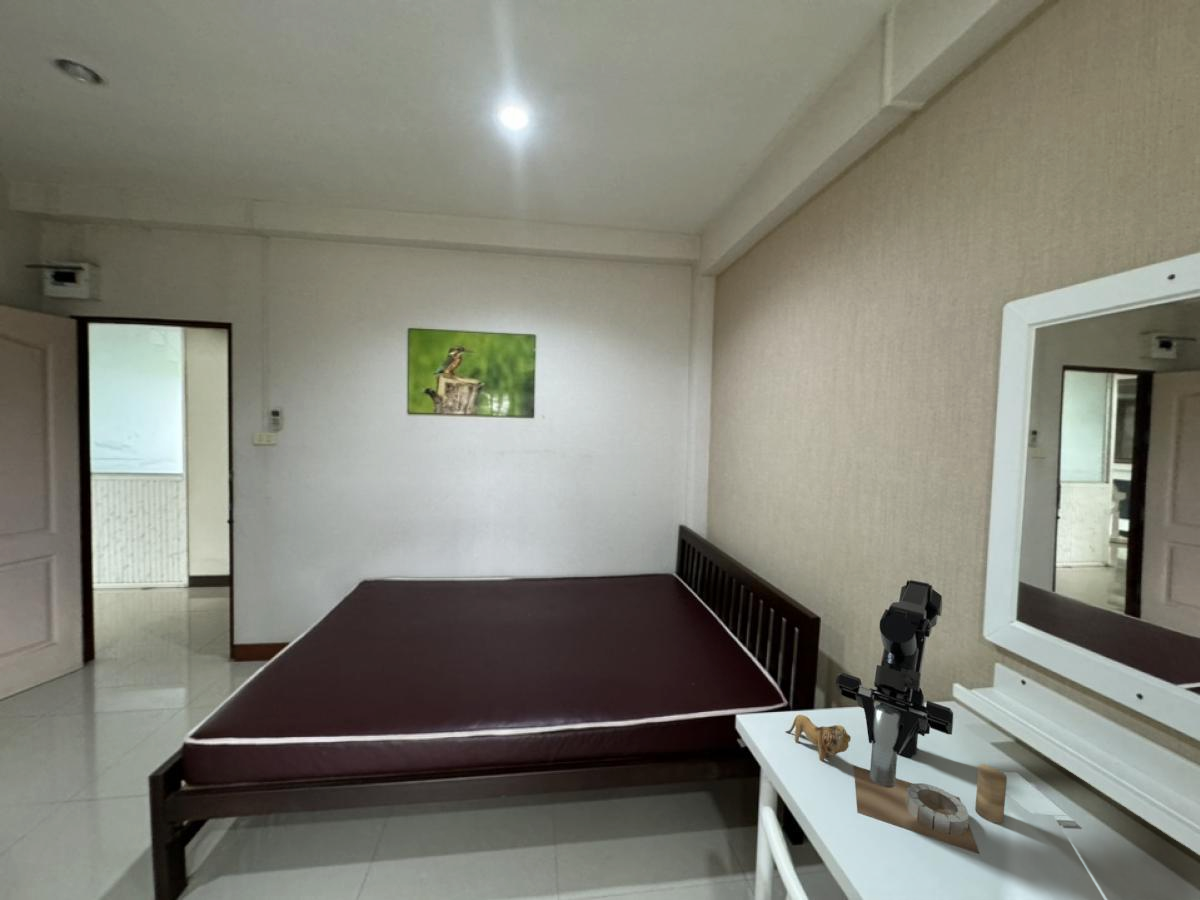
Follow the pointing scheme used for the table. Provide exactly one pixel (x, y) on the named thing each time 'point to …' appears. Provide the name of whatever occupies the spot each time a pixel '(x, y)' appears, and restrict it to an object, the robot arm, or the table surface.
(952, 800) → the grey stone ring
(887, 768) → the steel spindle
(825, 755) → the lion figurine
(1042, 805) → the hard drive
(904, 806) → the walnut board
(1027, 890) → the table surface
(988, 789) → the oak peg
